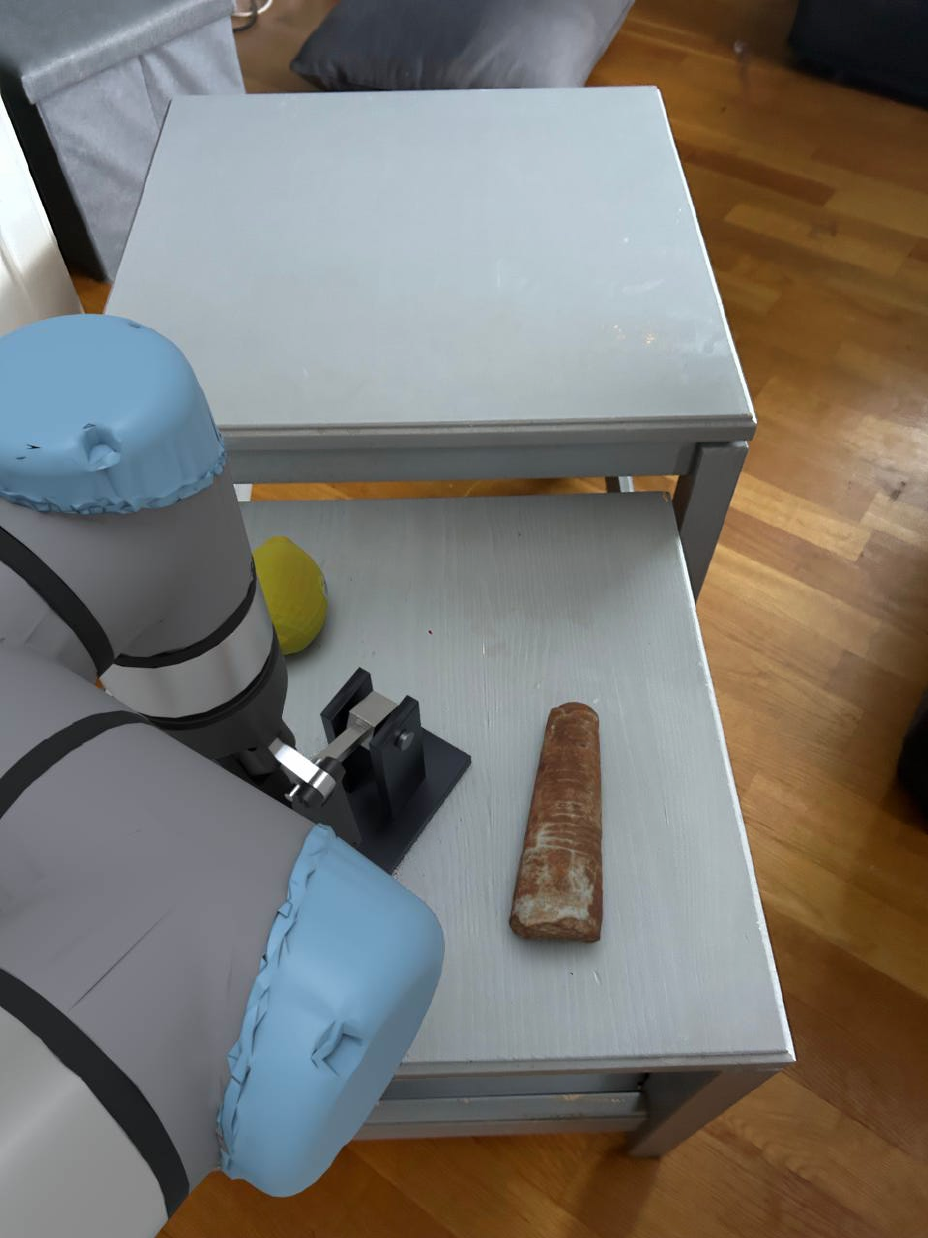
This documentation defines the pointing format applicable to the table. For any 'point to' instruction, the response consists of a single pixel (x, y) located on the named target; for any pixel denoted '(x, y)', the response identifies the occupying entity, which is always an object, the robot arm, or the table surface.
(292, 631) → the lemon
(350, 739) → the lever
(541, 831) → the bread
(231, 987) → the robot arm
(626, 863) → the table surface
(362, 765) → the bracket
